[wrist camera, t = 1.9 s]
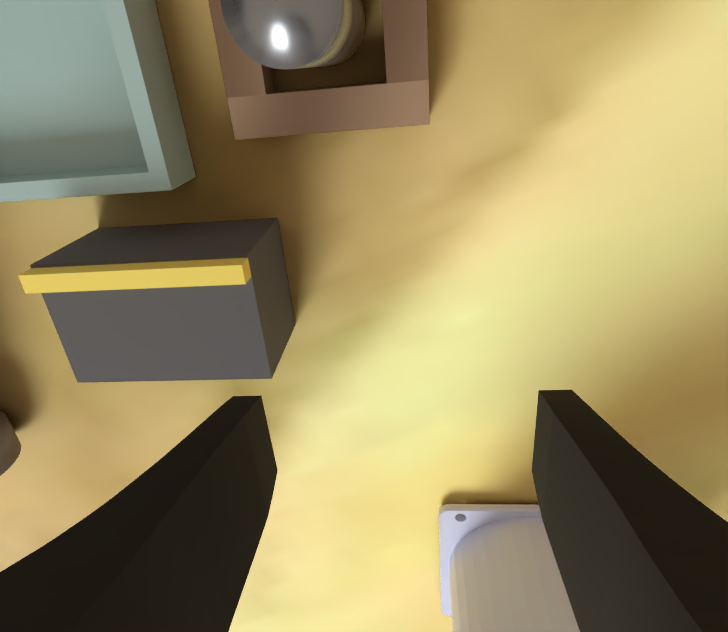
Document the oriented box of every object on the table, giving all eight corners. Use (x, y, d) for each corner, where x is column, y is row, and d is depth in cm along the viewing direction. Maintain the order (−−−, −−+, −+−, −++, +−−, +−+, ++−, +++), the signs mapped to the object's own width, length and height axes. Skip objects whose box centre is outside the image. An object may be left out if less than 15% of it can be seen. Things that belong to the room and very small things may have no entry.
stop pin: (361, -31, 15) (332, -82, 9) (368, 62, 16) (345, 63, 10) (281, -21, 15) (207, -66, 10) (293, 69, 16) (233, 74, 11)
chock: (279, 216, 18) (241, 261, 14) (296, 322, 20) (267, 389, 16) (100, 227, 19) (16, 272, 15) (133, 328, 21) (67, 392, 17)
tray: (122, -138, 14) (80, -167, 12) (195, 177, 18) (171, 190, 16) (-149, -97, 15) (-225, -118, 13) (-24, 192, 19) (-69, 206, 17)
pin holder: (422, -119, 14) (423, -138, 12) (428, 118, 16) (429, 124, 15) (209, -90, 14) (188, -105, 13) (249, 133, 17) (235, 140, 16)
